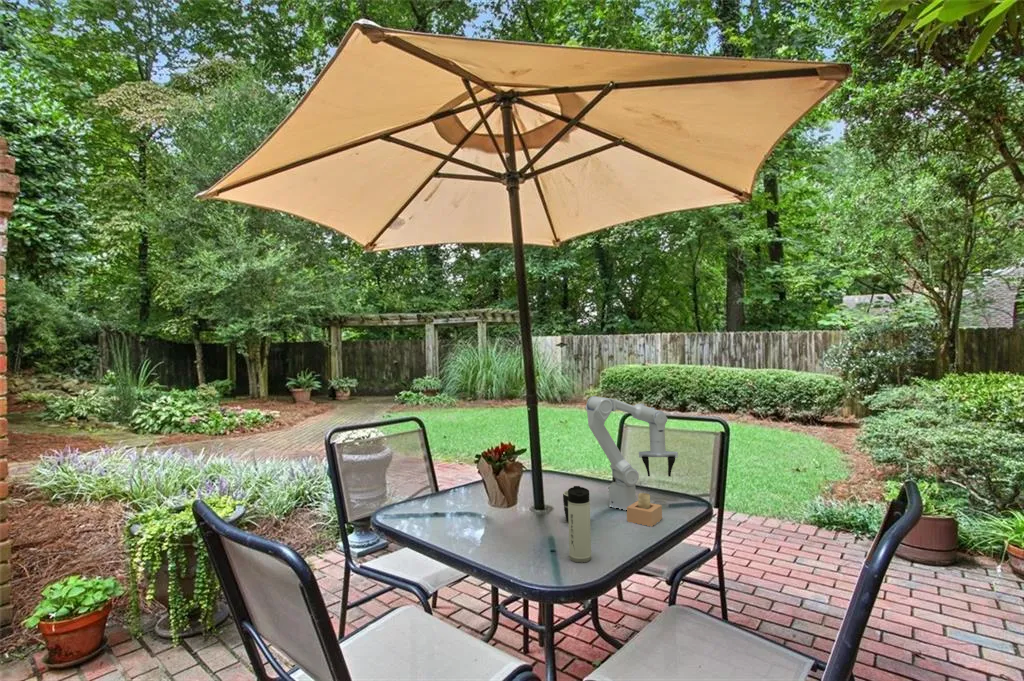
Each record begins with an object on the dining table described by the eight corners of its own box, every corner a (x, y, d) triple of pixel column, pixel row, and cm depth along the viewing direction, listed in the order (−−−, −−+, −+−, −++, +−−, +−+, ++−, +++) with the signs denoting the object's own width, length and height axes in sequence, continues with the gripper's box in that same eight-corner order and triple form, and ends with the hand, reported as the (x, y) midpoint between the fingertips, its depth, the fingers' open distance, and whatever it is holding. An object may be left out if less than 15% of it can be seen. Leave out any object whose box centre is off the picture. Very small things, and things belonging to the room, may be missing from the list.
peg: (636, 518, 171) (636, 495, 171) (641, 514, 174) (641, 492, 174) (647, 520, 169) (647, 497, 169) (652, 517, 172) (651, 494, 172)
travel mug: (588, 552, 146) (586, 485, 146) (593, 562, 139) (591, 491, 139) (567, 553, 145) (566, 485, 146) (571, 563, 139) (569, 492, 139)
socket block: (627, 521, 171) (626, 507, 171) (637, 514, 178) (637, 500, 178) (651, 527, 165) (651, 512, 165) (662, 519, 172) (661, 505, 172)
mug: (559, 519, 175) (559, 490, 175) (583, 516, 177) (582, 488, 177) (573, 531, 163) (572, 500, 163) (597, 527, 166) (597, 497, 166)
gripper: (638, 442, 189) (640, 478, 188) (678, 442, 185) (679, 478, 185) (637, 439, 195) (639, 473, 195) (676, 439, 192) (677, 474, 192)
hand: (659, 475), depth 191 cm, fingers open, 7 cm apart
